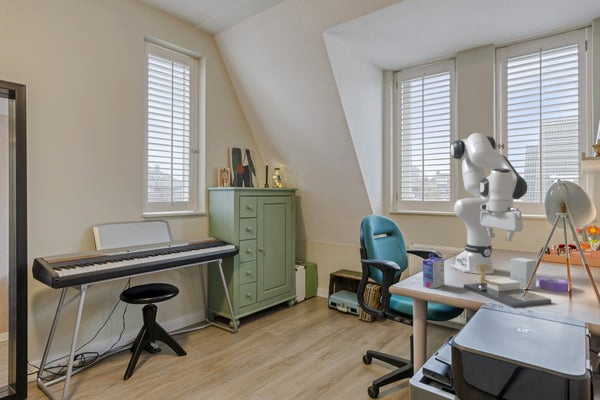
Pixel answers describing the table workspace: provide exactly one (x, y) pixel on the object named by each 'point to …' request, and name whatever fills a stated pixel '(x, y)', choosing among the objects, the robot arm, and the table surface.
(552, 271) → the table surface
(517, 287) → the cover lid
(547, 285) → the masking tape
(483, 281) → the t key
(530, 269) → the supplement box
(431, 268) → the ink cartridge box
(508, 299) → the plate
